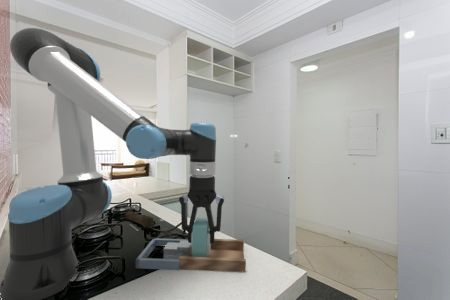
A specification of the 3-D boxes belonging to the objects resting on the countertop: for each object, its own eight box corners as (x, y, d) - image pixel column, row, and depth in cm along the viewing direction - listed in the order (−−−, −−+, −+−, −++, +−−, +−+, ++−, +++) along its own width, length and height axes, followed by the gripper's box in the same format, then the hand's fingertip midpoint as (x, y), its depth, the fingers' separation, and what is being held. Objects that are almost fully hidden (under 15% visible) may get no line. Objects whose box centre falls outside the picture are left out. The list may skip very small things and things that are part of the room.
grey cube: (163, 262, 62) (163, 248, 62) (167, 254, 66) (167, 242, 66) (177, 262, 62) (177, 249, 62) (180, 255, 66) (180, 242, 66)
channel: (179, 273, 58) (179, 258, 58) (188, 250, 70) (188, 237, 70) (245, 276, 57) (245, 261, 57) (243, 252, 70) (243, 239, 69)
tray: (135, 272, 58) (135, 259, 58) (153, 248, 71) (153, 238, 71) (178, 274, 58) (179, 261, 57) (189, 249, 71) (189, 239, 70)
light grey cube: (177, 260, 62) (177, 247, 62) (180, 253, 66) (180, 240, 66) (190, 261, 62) (190, 247, 62) (193, 253, 66) (193, 241, 66)
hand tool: (124, 220, 96) (124, 210, 96) (132, 218, 99) (132, 208, 99) (147, 232, 84) (147, 220, 84) (156, 229, 87) (156, 218, 87)
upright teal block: (192, 261, 61) (192, 226, 60) (196, 248, 68) (197, 217, 67) (206, 261, 60) (206, 227, 60) (209, 249, 67) (209, 218, 67)
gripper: (170, 176, 59) (169, 258, 60) (231, 178, 59) (229, 261, 60) (177, 172, 67) (176, 245, 68) (231, 174, 66) (229, 247, 67)
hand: (201, 252), depth 64 cm, fingers closed on upright teal block, 4 cm apart
